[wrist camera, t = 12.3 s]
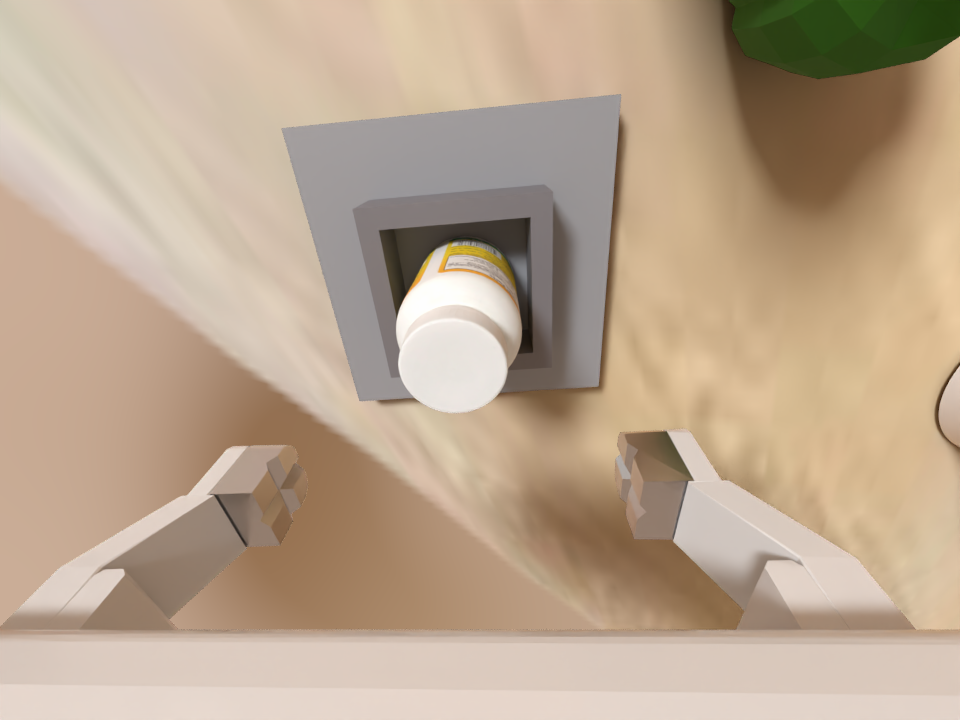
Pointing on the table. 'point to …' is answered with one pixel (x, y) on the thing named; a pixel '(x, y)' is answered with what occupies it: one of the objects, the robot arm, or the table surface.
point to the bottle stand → (466, 225)
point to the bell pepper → (843, 33)
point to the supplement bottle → (459, 326)
